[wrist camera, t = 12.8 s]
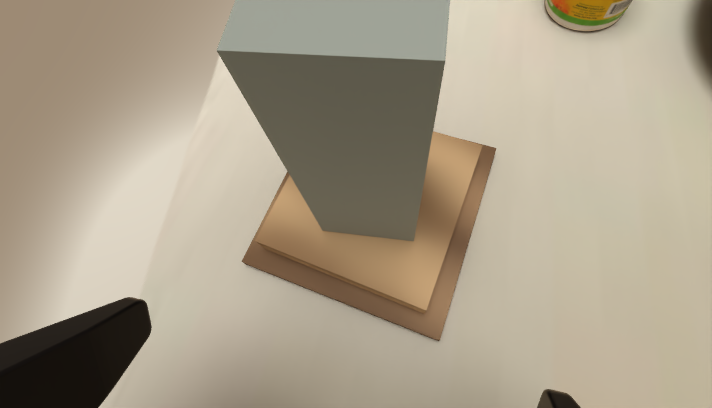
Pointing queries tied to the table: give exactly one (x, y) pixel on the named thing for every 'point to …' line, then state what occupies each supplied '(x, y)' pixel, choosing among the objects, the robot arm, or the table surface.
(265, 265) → the walnut base slab
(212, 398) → the table surface
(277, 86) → the slate block
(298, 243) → the oak top slab
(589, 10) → the supplement bottle
